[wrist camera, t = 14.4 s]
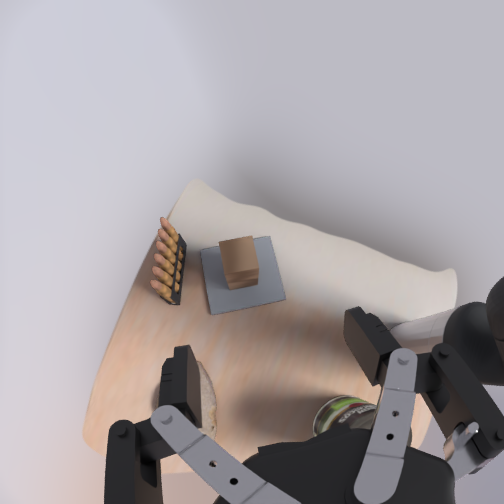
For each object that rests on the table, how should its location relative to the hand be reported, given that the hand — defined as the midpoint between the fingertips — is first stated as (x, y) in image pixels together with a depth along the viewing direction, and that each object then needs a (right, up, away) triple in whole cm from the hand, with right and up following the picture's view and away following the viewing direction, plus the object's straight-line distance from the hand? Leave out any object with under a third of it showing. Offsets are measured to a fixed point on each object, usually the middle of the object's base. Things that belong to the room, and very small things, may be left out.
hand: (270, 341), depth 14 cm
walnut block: (-3, +1, +32) cm, 32 cm away
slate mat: (-3, +1, +33) cm, 33 cm away
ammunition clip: (-13, +1, +33) cm, 36 cm away
